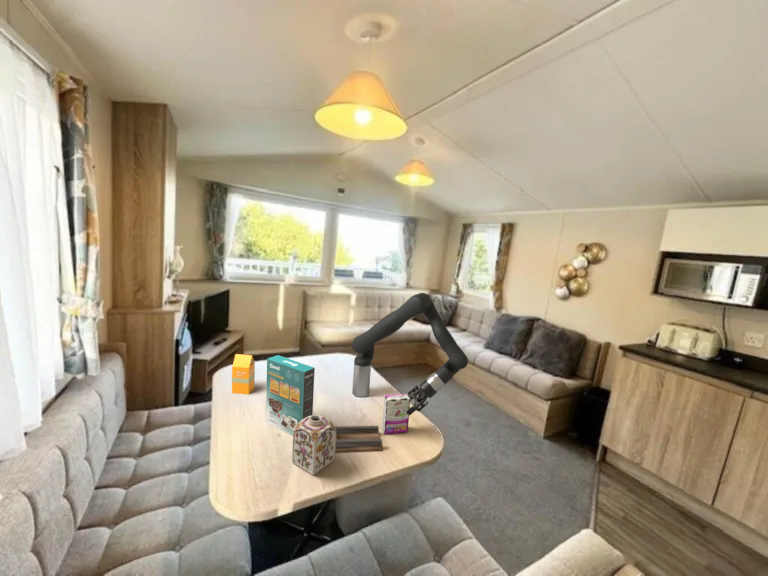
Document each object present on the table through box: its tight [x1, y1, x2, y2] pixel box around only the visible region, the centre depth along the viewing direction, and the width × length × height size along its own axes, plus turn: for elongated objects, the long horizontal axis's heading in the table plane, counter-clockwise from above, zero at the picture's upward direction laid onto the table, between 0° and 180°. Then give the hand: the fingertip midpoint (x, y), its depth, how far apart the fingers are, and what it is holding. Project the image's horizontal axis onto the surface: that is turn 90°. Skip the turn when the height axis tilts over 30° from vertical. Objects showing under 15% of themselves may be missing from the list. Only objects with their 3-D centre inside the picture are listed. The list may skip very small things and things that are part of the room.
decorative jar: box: [291, 414, 336, 476], centre depth 127 cm, size 12×12×18 cm
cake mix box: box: [265, 354, 316, 437], centre depth 146 cm, size 22×6×30 cm, turn 59°
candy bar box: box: [381, 393, 411, 435], centre depth 151 cm, size 11×5×16 cm, turn 105°
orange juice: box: [231, 353, 256, 395], centre depth 177 cm, size 8×9×20 cm
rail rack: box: [335, 425, 383, 453], centre depth 142 cm, size 14×20×4 cm
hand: (405, 408), depth 152 cm, fingers open, 8 cm apart
